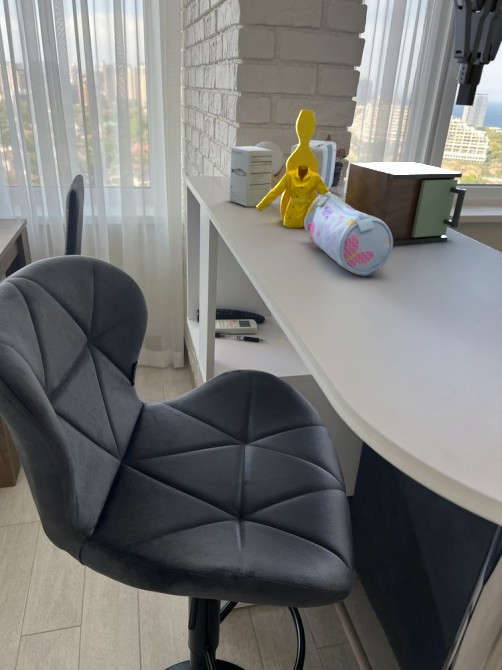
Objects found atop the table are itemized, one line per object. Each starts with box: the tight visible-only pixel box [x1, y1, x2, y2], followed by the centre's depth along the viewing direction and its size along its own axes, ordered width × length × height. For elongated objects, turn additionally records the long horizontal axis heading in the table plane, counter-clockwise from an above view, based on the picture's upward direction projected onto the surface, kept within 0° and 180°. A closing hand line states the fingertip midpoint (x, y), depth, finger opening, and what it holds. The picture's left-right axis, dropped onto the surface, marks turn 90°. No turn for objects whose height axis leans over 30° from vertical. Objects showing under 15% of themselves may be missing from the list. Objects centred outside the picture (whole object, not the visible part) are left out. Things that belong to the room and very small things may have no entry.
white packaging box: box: [228, 145, 274, 208], centre depth 120 cm, size 7×7×13 cm
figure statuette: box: [255, 109, 331, 229], centre depth 101 cm, size 18×8×22 cm, turn 89°
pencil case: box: [304, 192, 394, 277], centre depth 84 cm, size 21×9×10 cm, turn 10°
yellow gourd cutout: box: [290, 112, 337, 197], centre depth 131 cm, size 21×8×20 cm, turn 162°
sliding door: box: [412, 178, 467, 237], centre depth 95 cm, size 4×8×11 cm, turn 114°
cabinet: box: [344, 162, 463, 247], centre depth 99 cm, size 14×16×13 cm
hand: (464, 105), depth 91 cm, fingers closed
